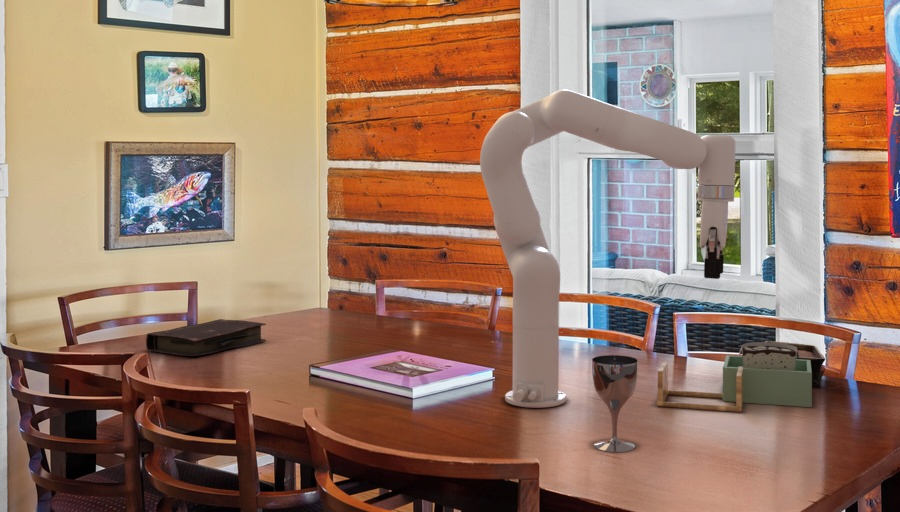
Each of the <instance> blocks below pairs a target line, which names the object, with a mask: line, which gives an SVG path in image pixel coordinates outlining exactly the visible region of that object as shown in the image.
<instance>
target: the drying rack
mask: <svg viewBox="0 0 900 512" xmlns="http://www.w3.org/2000/svg"><path fill="white" fill-rule="evenodd" d="M743 368H744V367H739V368H738V372H737V376H736V402H735V404H736V405H735V406H734V405H733V406H731V405H718V404H703V403H689V402H677V401H676V402H675V401H666V400H667V398H668V395H669V396H682V397H697V398H709V399H723V392H721V393H720V392H707V391H706V392H704V391H694V390H693V391H690V390H677V389H676V390H675V389H669V379H668V378H669V375H668V374H669V362H667V361H663V362H661V365H660V367H659V368H658V370H657V401H656V406H657V407H666V408H677V409H678V408H679V409H691V410H693V409H694V410H704V411H705V410H706V411H718V412H733V413H742V410H743V404H744V403H743Z"/></svg>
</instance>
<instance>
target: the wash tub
mask: <svg viewBox="0 0 900 512" xmlns="http://www.w3.org/2000/svg"><path fill="white" fill-rule="evenodd" d="M739 367H743V359H742V355H740V357H739V355H729V354H726V356H725V359H724V362H723V366H722V394H723V398H722V402H731V403H736V376H737V372H738V368H739ZM745 403H746V404H757V405H758V404H759V405H773V406H784V407H785V406H786V407H787V406H788V407H800V408H801V407H803V408H813V384H812V370H811V361H810V360H801V359H796V367H795V371H788V370H772V369H756V368H743V404H745Z"/></svg>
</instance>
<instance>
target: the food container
mask: <svg viewBox="0 0 900 512" xmlns="http://www.w3.org/2000/svg"><path fill="white" fill-rule="evenodd" d="M738 356H739V357H740V356H742V359H743V367H744V368H756V369H772V370H788V371H795V367H796V358H797V357H798V358H800V356H799V351H798V350H797V347H795V346H792V345H788V344H782V343H772V342H766V341H756V342H754V341H753V342H747V343H743V344H741V347H740V348H739V353H738Z"/></svg>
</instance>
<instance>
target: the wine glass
mask: <svg viewBox="0 0 900 512" xmlns="http://www.w3.org/2000/svg"><path fill="white" fill-rule="evenodd" d="M638 364H639V362H638V359H637V358H635V357H632V356H628V355H618V354H616V355H615V354H609V355H607V354H606V355H597V356H595V357H593V358H592V359H591V372H592V373H591V375H592V382H593V387H594V390H595V393H596V394H597V395H598V397H599V398H600V399H601V401H602V402H603V403H604V404H605V406H606V407H607V408H608V410H609V413H610V417H611V427H612V429H611V430H612V433H611V434H612V436H611V438H610V439H602V440H598V441H596V442H594V444H593V445H594V448H595V449H597V450H598V451H599V450H600V451H603V452H608V453H626V452H630V451H633V450H634V449H635V448H636V445H635V444H634V443H633V442H631V441H628V440H623V439H619V438H618V422H619V420H618V419H619V415H620V412H621V409H622V408H623V407H624V405H625V404H626V403H627V402H628V401H629V400H630V398H631V397H632V396H633V394H634V392H635V390H636V385H637V381H638V380H637V379H638V369H639V365H638Z"/></svg>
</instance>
